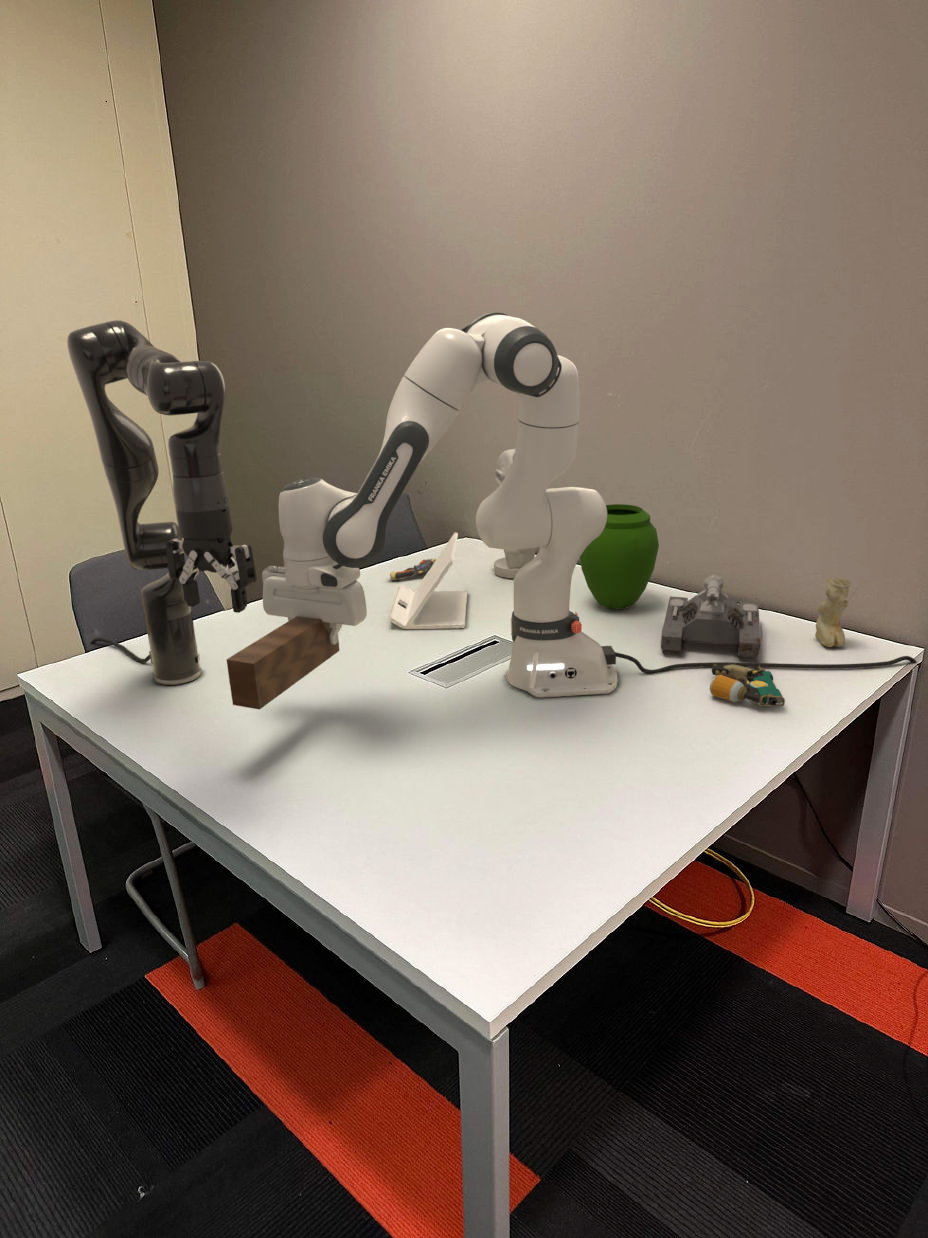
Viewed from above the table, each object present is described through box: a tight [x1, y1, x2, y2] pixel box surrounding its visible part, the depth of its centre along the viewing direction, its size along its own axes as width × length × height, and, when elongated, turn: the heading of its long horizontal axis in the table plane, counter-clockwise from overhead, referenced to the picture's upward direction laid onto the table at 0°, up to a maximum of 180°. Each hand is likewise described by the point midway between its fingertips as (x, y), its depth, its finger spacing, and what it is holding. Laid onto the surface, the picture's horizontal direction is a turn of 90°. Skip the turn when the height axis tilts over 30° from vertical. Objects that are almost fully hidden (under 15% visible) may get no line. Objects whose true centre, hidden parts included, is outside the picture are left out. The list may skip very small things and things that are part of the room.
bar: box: [226, 616, 340, 711], centre depth 149 cm, size 26×5×8 cm, turn 158°
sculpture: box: [814, 576, 852, 648], centre depth 185 cm, size 6×7×15 cm
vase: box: [579, 503, 660, 610], centre depth 210 cm, size 20×20×24 cm
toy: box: [660, 574, 761, 660], centre depth 189 cm, size 25×20×15 cm
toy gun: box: [389, 558, 437, 581], centre depth 244 cm, size 3×19×10 cm
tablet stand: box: [388, 531, 468, 630], centre depth 211 cm, size 18×25×17 cm
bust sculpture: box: [493, 448, 537, 579], centre depth 231 cm, size 16×24×35 cm
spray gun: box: [709, 663, 786, 707], centre depth 166 cm, size 4×17×15 cm
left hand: (216, 608), depth 130 cm, fingers open, 8 cm apart
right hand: (317, 641), depth 157 cm, fingers closed on bar, 5 cm apart
